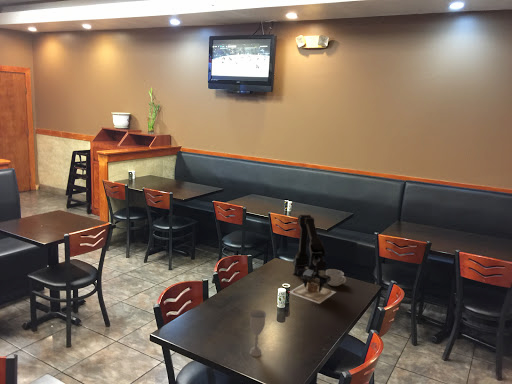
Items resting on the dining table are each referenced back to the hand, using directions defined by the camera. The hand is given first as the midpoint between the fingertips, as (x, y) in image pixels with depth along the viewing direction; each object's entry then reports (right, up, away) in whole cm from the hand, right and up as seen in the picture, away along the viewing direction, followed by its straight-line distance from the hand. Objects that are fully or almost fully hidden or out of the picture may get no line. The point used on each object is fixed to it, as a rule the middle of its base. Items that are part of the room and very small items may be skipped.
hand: (312, 289), depth 235 cm
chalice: (-32, -13, -61) cm, 70 cm away
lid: (0, -2, 0) cm, 2 cm away
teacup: (+15, -1, +12) cm, 20 cm away
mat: (0, -2, 0) cm, 2 cm away
